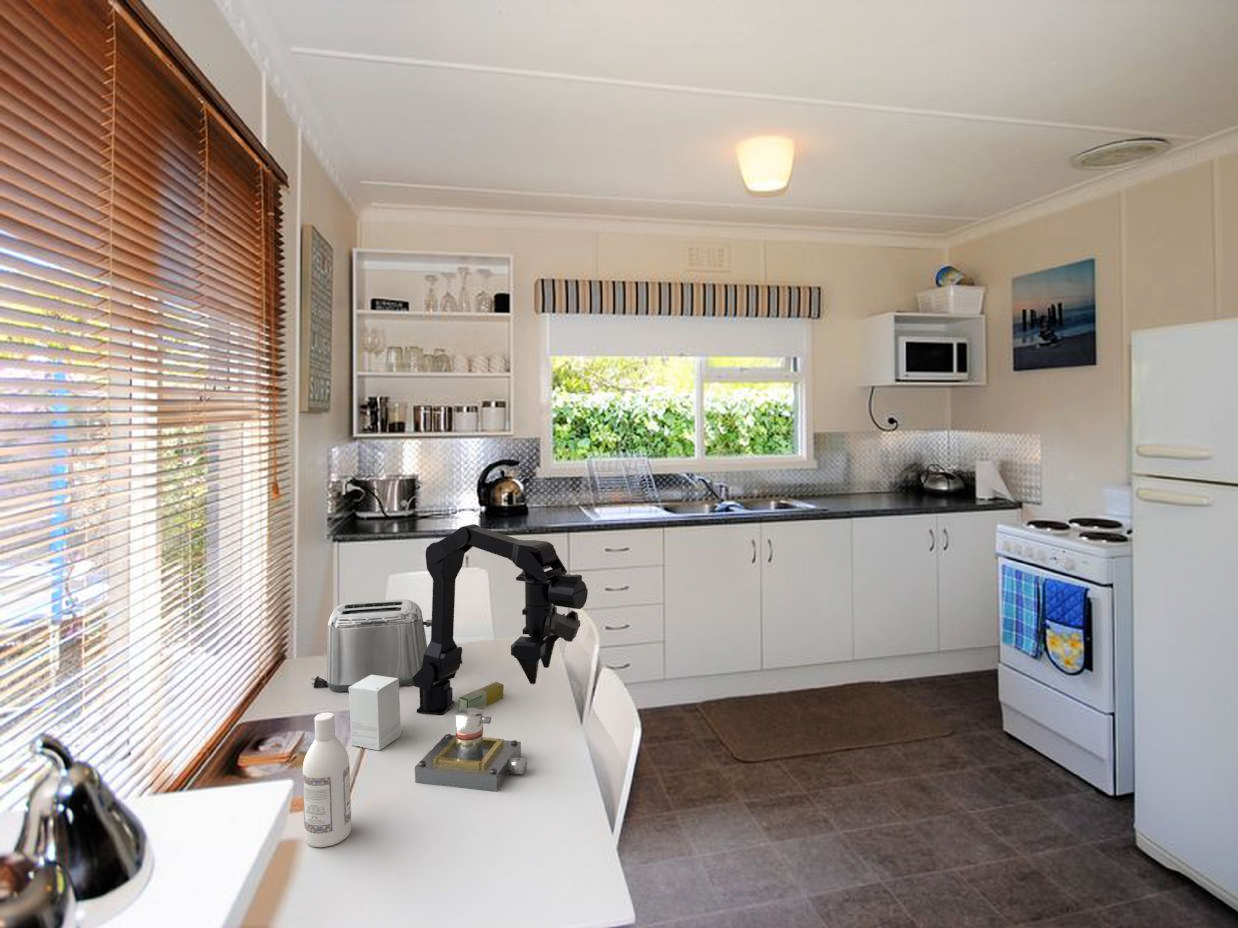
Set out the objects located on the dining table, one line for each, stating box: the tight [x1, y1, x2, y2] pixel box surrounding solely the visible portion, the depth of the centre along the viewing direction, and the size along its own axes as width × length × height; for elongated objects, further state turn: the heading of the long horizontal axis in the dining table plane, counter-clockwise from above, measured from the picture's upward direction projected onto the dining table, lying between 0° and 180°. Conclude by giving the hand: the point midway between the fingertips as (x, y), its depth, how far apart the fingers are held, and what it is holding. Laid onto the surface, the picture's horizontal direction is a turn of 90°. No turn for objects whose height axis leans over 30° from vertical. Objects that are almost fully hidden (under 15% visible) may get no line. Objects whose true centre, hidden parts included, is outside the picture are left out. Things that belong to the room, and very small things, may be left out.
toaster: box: [311, 599, 432, 693], centre depth 176 cm, size 17×30×19 cm, turn 104°
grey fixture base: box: [414, 733, 528, 792], centre depth 131 cm, size 19×13×4 cm
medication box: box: [458, 681, 504, 711], centre depth 160 cm, size 12×3×4 cm, turn 145°
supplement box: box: [348, 675, 402, 751], centre depth 143 cm, size 7×7×13 cm
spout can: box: [455, 708, 492, 760], centre depth 131 cm, size 7×5×8 cm
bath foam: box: [301, 711, 352, 848], centre depth 110 cm, size 7×7×20 cm
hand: (539, 675), depth 145 cm, fingers open, 9 cm apart
